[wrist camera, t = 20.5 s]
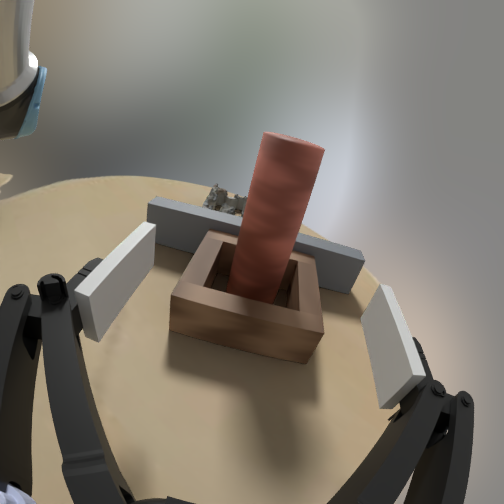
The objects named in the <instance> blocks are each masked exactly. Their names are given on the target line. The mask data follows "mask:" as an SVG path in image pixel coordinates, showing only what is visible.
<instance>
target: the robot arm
mask: <svg viewBox="0 0 504 504" xmlns="http://www.w3.org/2000/svg"><path fill="white" fill-rule="evenodd" d="M33 5H34V0H0V141H1V140H7V139H13V138H14V139H17V138H19V137H22V136H26V135H30V134H32V133H33V132H34V130H35V129H36V126H37V120H38V113H39V107H40V102H41V96H42V91H43V87H44V82H45V78H46V73H47V69H46V68H45V67H41V66H38V64H37V59H36V57H35V55H34V54H33V53H31V52H30V51H29V40H30V29H31V20H32V13H33ZM155 234H156V224H152V223H148V222H143V223H142V224H141V225H140V226H139V227H138V228H137V229H135V230H134V231H133V232H132V233H131V234H130V235H129V236H128V237H127V238H126V239H125V240H124V241H122V242H121V243H120V244H119V245H118V246H117V247H116V248H115V249H114V250H113V251H112V252H111V253H110V254H109V255H108V256H107V257H106V258H105V259H104V260H103V259H100V258H95V259H93V260H91V261H89V262H88V263H87V264H86V265H85V266H84V267H83V269H81V270H80V271H79V272H78V274H76V275H75V276H74V277H73V278H72V279H71V280H70V281H69V282H68V283H67V284H66V281H65V278H64V277H63V276H62V275H60V274H48V275H45V276H43V277H42V278H41V279H40V280H39V281H38V284H37V287H38V291H39V294H40V296H39V295H32V294H30V291H29V288H28V287H27V286H26V285H24V284H16V285H14V286H12V287H11V288H9V289H8V291H7V292H6V294H5V296H4V299H3V301H2V304H1V306H0V504H36V502H35V501H34V500H33V499H32V498H31V495H32V455H31V433H32V412H33V399H34V390H35V381H36V374H37V367H38V361H39V355H40V350H41V345H43V358H44V368H45V376H46V384H47V390H48V397H49V402H50V408H51V413H52V418H53V422H54V427H55V431H56V435H57V439H58V443H59V446H60V450H61V453H62V457H63V463H62V472H63V476H64V479H65V482H66V485H67V487H68V490H69V492H70V495H71V497H72V500H73V502H74V504H194V503H190V502H187V501H183V500H179V499H175V498H172V497H169V496H167V499H162V498H152V499H144V500H139V501H136V500H135V498H134V496H133V494H132V492H131V490H130V488H129V487H128V485H127V483H126V481H125V479H124V477H123V476H122V474H121V472H120V470H119V468H118V465H117V463H116V461H115V458H114V456H113V453H112V451H111V448H110V446H109V443H108V440H107V438H106V435H105V432H104V429H103V426H102V424H101V421H100V417H99V414H98V411H97V408H96V405H95V401H94V398H93V394H92V390H91V387H90V383H89V379H88V375H87V371H86V366H85V362H84V357H83V352H82V347H81V342H80V337H79V333H80V331H81V330H82V329H83V330H84V334H85V337H87V338H89V339H92V340H94V341H96V342H98V343H99V342H100V340H101V339H102V337H103V336H104V334H105V333H106V331H107V330H108V328H109V327H110V325H111V324H112V322H113V321H114V320H115V318H116V317H117V315H118V314H119V312H120V311H121V310H122V308H123V307H124V305H125V304H126V302H127V301H128V300H129V298H130V297H131V296H132V294H133V293H134V291H135V290H136V289H137V287H138V286H139V285H140V283H141V282H142V281H143V279H144V278H145V277H146V275H147V274H148V273H149V271H150V270H151V269H152V267H153V266H154V252H155ZM360 319H361V323H362V327H363V331H364V335H365V339H366V344H367V348H368V352H369V357H370V362H371V366H372V371H373V376H374V381H375V386H376V391H377V397H378V403H379V408H380V409H393V408H394V407H395V406H396V405H397V404H398V403H400V409H399V410H398V411H397V412H396V413H395V414H393V415H392V416H391V417H390V418H389V419H388V420H389V421H390V420H391V419H392V420H391V422H390V423H389V425H388V426H387V428H386V429H385V431H384V433H383V434H382V435H381V437H380V438H379V440H378V441H377V443H376V444H375V446H374V447H373V448H372V450H371V451H370V453H369V454H368V455H367V457H366V458H365V459H364V461H363V462H362V463H361V464H360V466H359V467H358V468H357V469H356V471H355V472H354V473H353V474H352V476H351V477H350V478H349V479H348V480H347V482H346V483H345V484H344V485H343V486H342V487H341V489H340V490H339V491H338V492H337V493H336V494H335V495H334V496H333V497H332V498H331V500H330V501H329V502H328V503H327V504H394V502H395V501H396V499H397V498H398V496H399V495H400V493H401V491H402V490H403V488H404V486H405V485H406V483H407V481H408V480H409V478H410V476H411V474H412V473H413V471H414V473H413V476H412V480H411V483H410V486H409V489H408V492H407V495H406V498H405V501H404V504H463V503H464V499H465V494H466V489H467V483H468V477H469V471H470V463H471V455H472V444H473V428H474V402H473V399H472V397H471V396H470V394H468V393H467V392H465V391H460V392H459V393H458V394H457V395H456V396H452V395H450V394H447V393H446V390H445V388H444V386H443V385H442V384H441V383H440V382H439V381H437V380H433V377H432V374H431V371H430V369H429V366H428V363H427V360H425V359H426V358H425V355H424V354H423V350H422V347H421V345H420V343H419V342H418V341H417V339H416V338H415V337H412V336H411V333H410V331H409V328H408V326H407V323H406V321H405V318H404V316H403V314H402V311H401V309H400V307H399V304H398V302H397V300H396V298H395V295H394V293H393V291H392V289H391V287H390V286H386V285H383V284H380V285H379V287H378V288H377V290H376V292H375V294H374V296H373V297H372V299H371V301H370V303H369V304H368V306H367V308H366V310H365V311H364V313H363V315H362V316H361V318H360ZM447 430H448V433H447V435H446V432H447ZM414 469H415V470H414Z"/></svg>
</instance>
